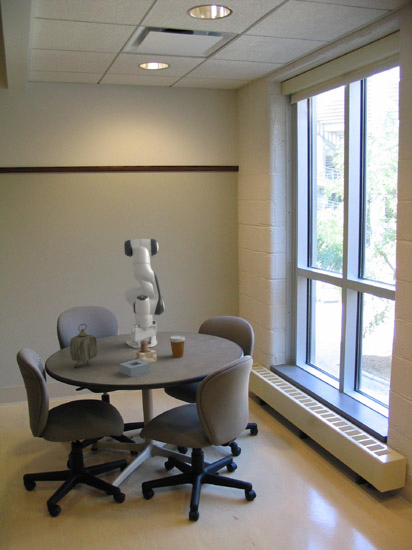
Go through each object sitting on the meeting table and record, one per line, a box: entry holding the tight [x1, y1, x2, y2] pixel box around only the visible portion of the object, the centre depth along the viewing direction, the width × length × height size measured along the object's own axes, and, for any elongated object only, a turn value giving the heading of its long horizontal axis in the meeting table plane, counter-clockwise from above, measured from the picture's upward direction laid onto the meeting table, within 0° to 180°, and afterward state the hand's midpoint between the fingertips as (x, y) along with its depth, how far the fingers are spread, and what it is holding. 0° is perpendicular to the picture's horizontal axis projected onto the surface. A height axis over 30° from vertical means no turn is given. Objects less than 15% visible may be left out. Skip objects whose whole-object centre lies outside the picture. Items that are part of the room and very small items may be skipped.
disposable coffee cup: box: [169, 334, 186, 359], centre depth 343 cm, size 10×10×12 cm
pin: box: [140, 341, 149, 353], centre depth 335 cm, size 4×4×12 cm
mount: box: [132, 348, 158, 364], centre depth 336 cm, size 10×10×6 cm
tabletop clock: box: [69, 323, 98, 368], centre depth 329 cm, size 14×9×25 cm, turn 152°
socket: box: [119, 359, 151, 378], centre depth 315 cm, size 12×12×5 cm
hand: (144, 346), depth 335 cm, fingers open, 8 cm apart
